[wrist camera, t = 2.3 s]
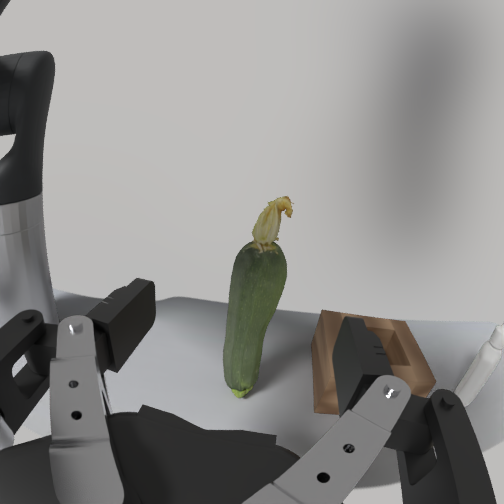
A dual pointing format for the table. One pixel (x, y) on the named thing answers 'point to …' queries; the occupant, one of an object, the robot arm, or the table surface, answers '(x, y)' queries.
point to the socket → (394, 343)
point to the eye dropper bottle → (481, 367)
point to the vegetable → (254, 298)
